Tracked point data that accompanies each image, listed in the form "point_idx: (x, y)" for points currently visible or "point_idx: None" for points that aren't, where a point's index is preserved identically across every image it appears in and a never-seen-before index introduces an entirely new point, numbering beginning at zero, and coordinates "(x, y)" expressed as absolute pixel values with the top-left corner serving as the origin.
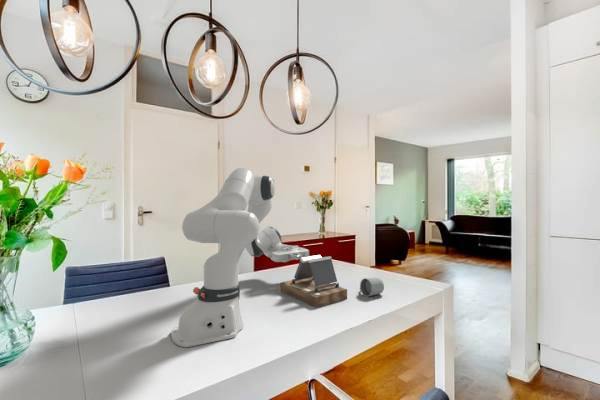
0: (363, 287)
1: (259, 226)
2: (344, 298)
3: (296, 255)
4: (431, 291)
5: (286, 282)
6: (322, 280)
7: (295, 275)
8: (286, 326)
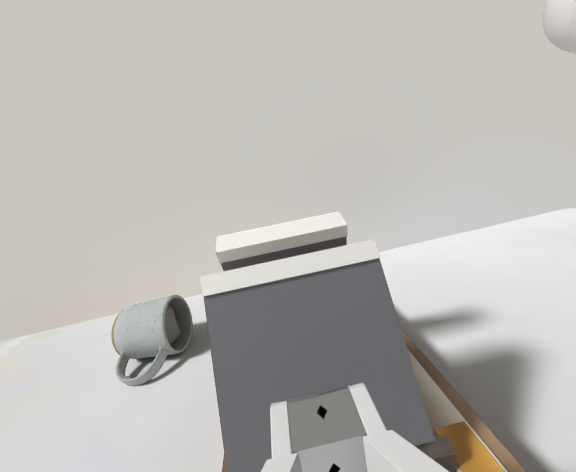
0: (158, 347)
1: (545, 10)
2: None
3: (358, 417)
4: (53, 332)
5: None
6: None
7: (421, 406)
8: (463, 266)
